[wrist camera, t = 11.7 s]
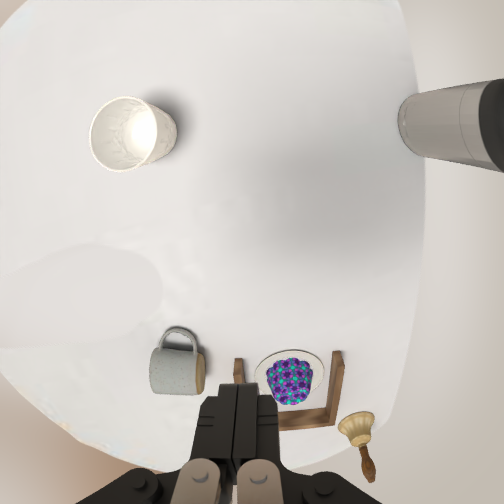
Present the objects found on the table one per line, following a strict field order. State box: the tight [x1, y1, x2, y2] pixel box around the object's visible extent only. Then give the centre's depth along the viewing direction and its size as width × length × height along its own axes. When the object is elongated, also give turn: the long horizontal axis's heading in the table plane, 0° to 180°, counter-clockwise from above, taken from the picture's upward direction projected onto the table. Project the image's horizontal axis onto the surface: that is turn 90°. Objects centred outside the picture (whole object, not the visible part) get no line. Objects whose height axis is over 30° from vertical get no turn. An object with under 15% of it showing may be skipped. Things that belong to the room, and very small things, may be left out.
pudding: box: [255, 351, 324, 405], centre depth 47 cm, size 12×12×5 cm
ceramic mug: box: [149, 328, 205, 395], centre depth 44 cm, size 11×8×8 cm
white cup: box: [89, 96, 177, 172], centre depth 31 cm, size 8×8×10 cm
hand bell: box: [338, 412, 376, 483], centre depth 47 cm, size 8×8×16 cm
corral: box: [233, 351, 345, 431], centre depth 48 cm, size 17×16×4 cm
